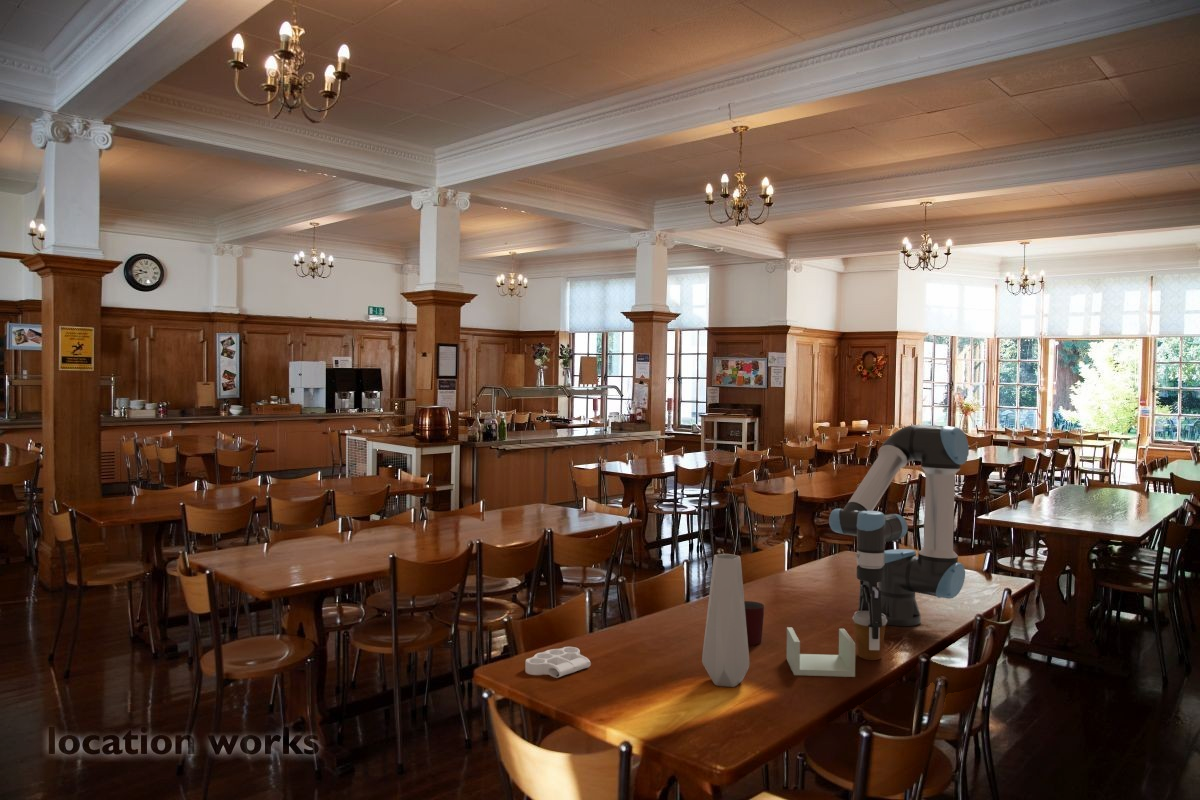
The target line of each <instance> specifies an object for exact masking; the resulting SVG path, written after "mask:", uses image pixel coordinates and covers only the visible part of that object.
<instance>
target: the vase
mask: <svg viewBox="0 0 1200 800" xmlns="http://www.w3.org/2000/svg"><path fill="white" fill-rule="evenodd" d="M741 560H742V558H741V556H740V555H736V554H732V553H731V554H730V553H720V554H714V555H713V561H712V567H711V568H712V570H711V578H710V588H709V594H708V595H709V596H708V603H707V612H706V619H705V621H706V622H705V627H704V628H705V630H704V631H705V632H704V638H703V647H702V656H701V657H702V659H701V663H702V665H703V667H704V668H705V671H706V672H707V674H708V676H709V677H710V679H711V681H712V683H713V684H714V685H715V686H718V687H728V688H729V687H730V688H735V687H737V686H738V685H739V684H741V683H742V681H743V680H744V678H745V676H746V674H747V672H748V669H749V668H750V653H749V645H748V639H747V627H746V615H745V604H744V601H745V595H744V584H743V583H744V581H743V571H742V561H741Z"/></svg>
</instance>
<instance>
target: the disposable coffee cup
mask: <svg viewBox="0 0 1200 800" xmlns="http://www.w3.org/2000/svg"><path fill="white" fill-rule="evenodd" d="M851 619H852V621H853V623H854V624H853V625H854V631H855V640H856V648H857V655H858V657H859V658H861V659H863V660H869V661H875V660H876V661H877V660H881V659H882V655H883V649H884V648H883V647H884V639H885V631H886V625H888V624H887V619H886V616H885V615H884V614H882V627H880V650H869V627H868V625H870V617H869V611H859V610H858V611H857V610H856V611H855V612H854V613H853V616H852V618H851Z"/></svg>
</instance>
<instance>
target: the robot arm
mask: <svg viewBox="0 0 1200 800" xmlns="http://www.w3.org/2000/svg"><path fill="white" fill-rule="evenodd" d="M969 451H970V448H969V441H968V438H967V435H965V432H964V431H963V430H962V429H961V428H959V427H957V426H951V425H950V426H949V425H929V424H928V425H927V424H926V425H925V424H922V425H920V424H911V425H907V426H905V427H902V428H900V429H898V430H897V431H895V432H894V433H892V434H891V435H890V436H888V437H887V439H885V440H884V441H883V443H882V444H881V446H880V447H879V449H878V452H877V454H878V456H877V458H876V459H875V460H874V462H873V464H872V465H871V467H870V468H869V470H868V471H867V473H866V474H865V476H864V478H863V479H862V480H861V482H860V484H859V485H858V486H857V488H856V490H855V491H854V492H853V494H852V496H851V497H850V499H849V500H848V502H847V503H846V504H845V506H844V507H843V508H835V509H832V511H831V512H830V514H829V517H828V523H829V524H828V525H829V527H830V529H831V531H832V532H834V533H836V534H837V533H838V534H841V535H844V536H845V535H848V536H855V537H856V542H857V543H856V545H857V546H856V552H857V553H855V554H854V557H855V558H856V564H857V565H856V578H857V580H859V600H858V611H869V617H870V625H868V627H869V650H880V627H882V614H884V615H885V616H886V619H887V624H886V625H888V626H897V627H913V626H919V625H920V624H921V622H922V617H921V616H922V615H921V611H920V609H919V605H918V603H917V599H916V593H917V594H922V595H927V596H930V597H931V596H932V597H936V598H938V599H942V598H943V599H947V600H948V599H950V600H951V599H953V598H955V597H957V596H958V595H959V594H960V592H961V590H962V589H963V586H964V583H965V579H966V569H965V566H964V564H963V563H961V562H959V561H958V558H959V555H958V554H957V553H956V552H955V551H954V522H955V519H954V518H955V491H956V490H955V487H956V484H955V483H956V474H957V473H958V472H959V471H960V470H961V467H962V465H964V464H965V463H966V462H967V460H968V457H969ZM911 461H912V462H913V461H917V462H920V468H921V469H922V470H923V471H924V472H925V491H924V493H925V495H924V497H925V498H924V520H923V521H924V526H923V529H924V530H923V547H922V548H921V549H920V550H919V551H918V555H917V552H916V550H915V549H908V548H896V549H887V550H885V544H886V543H888V542H893V541H898V540H900V539H902V538H904V537H905V536H906V534H907V533H908V529H909V527H908V522H907V520H906V519H905V517H904V516H902V515H900V514H897V513H888V514H885V513H883V512H882V511H877V510H874V509H875V508H876V507H877V505H878V503H879V502H880V500H881V499H882V497H883V496H884V494H885V493H886V491H887V489H888V488H889V486H890V485H891V484H892V481H893V480H894V478H895V477H896V475H897V473H898V472H899V470H900V469H904V468H905V467H906V466H907V464H908V463H909V462H911Z"/></svg>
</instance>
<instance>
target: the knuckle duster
mask: <svg viewBox="0 0 1200 800" xmlns="http://www.w3.org/2000/svg"><path fill="white" fill-rule="evenodd" d="M524 663H525V673H526V674H527V675H532V676H542V675H546V676H547V675H549V676H550V677H553V678H556V679H558V678H561V677H564V676H566V675H569V674H573V673H575V672H577V671H581V670H584V669H588V668H589V667H591V665H592V663H591V661H590V659H589V658H588V657H587V656H584V655H583V654H581V651H580V649H579V648H578V647H576V646H575V647H574V646H563V647H561V648H552V649H547V650H545V651H541V652H537V653H536V654H534V656H532V657H529V658H526V659H525V662H524Z"/></svg>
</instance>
